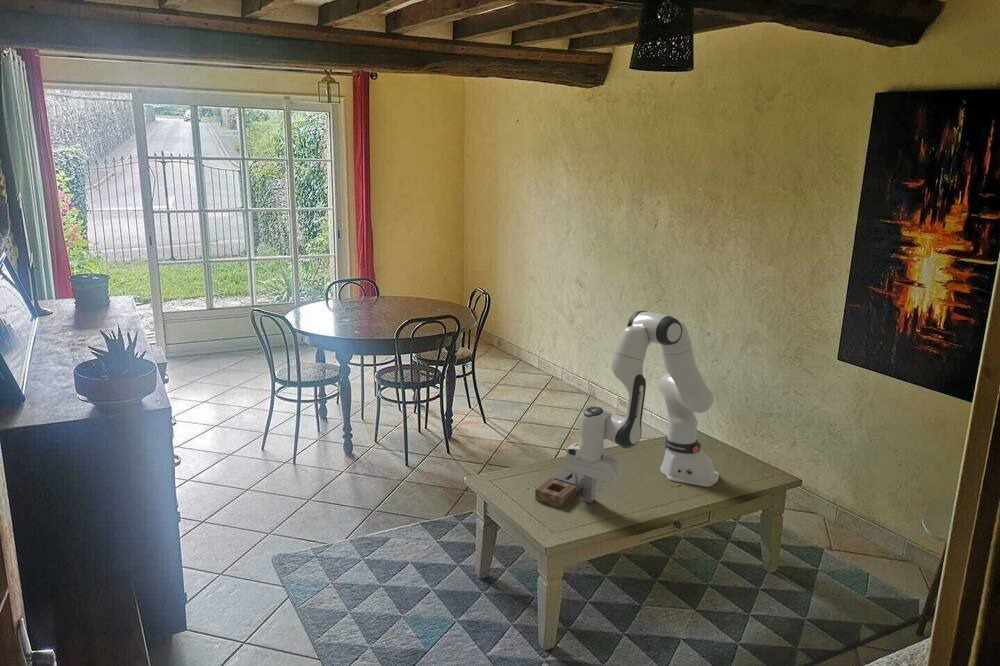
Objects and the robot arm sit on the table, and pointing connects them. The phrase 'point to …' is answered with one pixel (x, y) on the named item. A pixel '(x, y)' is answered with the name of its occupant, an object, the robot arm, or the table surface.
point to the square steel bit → (589, 489)
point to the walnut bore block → (555, 492)
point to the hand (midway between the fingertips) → (588, 487)
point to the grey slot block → (570, 479)
